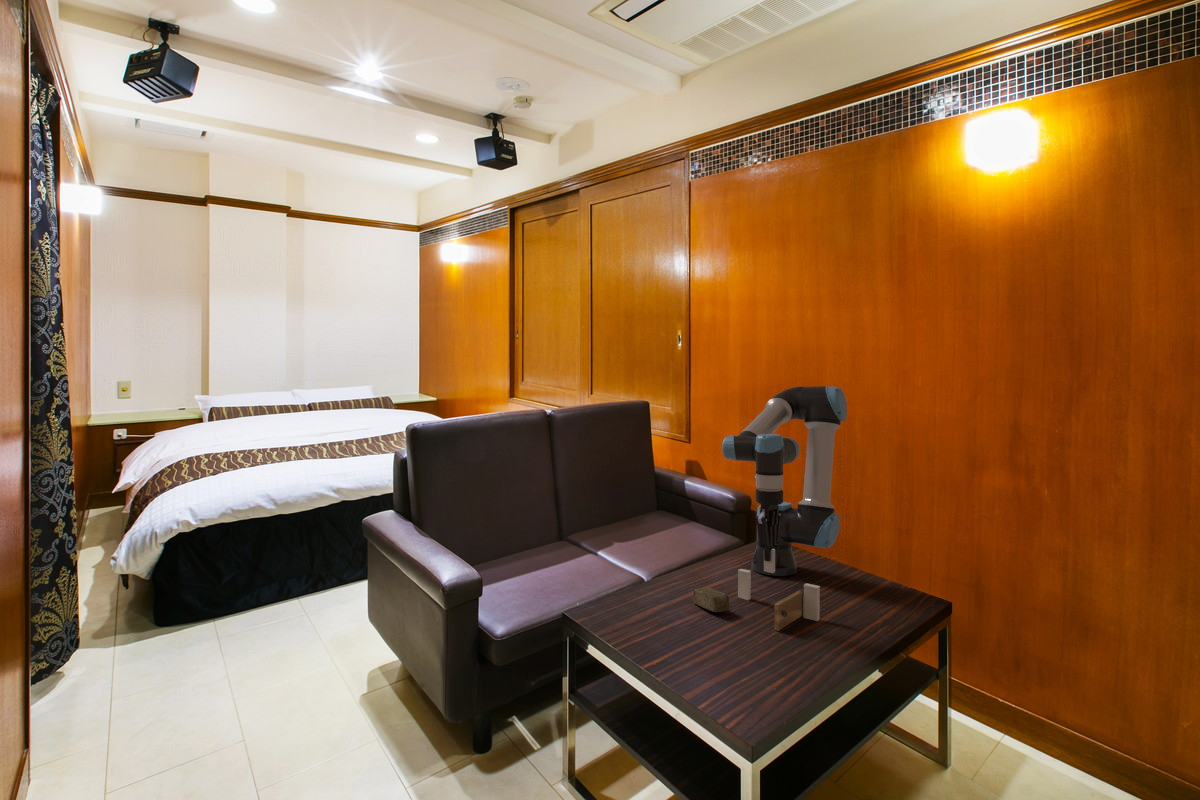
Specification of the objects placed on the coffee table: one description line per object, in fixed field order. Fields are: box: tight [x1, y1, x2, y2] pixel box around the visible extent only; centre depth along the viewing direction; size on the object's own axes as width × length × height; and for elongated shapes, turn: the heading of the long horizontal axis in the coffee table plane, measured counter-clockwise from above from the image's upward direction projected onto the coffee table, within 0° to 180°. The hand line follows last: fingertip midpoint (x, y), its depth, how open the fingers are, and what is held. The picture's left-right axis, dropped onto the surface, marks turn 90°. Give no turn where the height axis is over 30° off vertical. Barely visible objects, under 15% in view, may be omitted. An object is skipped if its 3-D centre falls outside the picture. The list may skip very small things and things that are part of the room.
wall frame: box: [737, 568, 821, 622], centre depth 175 cm, size 2×25×10 cm, turn 49°
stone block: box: [692, 586, 730, 613], centre depth 176 cm, size 6×12×5 cm, turn 27°
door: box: [773, 589, 804, 631], centre depth 165 cm, size 3×16×7 cm, turn 137°
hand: (769, 571), depth 166 cm, fingers closed
